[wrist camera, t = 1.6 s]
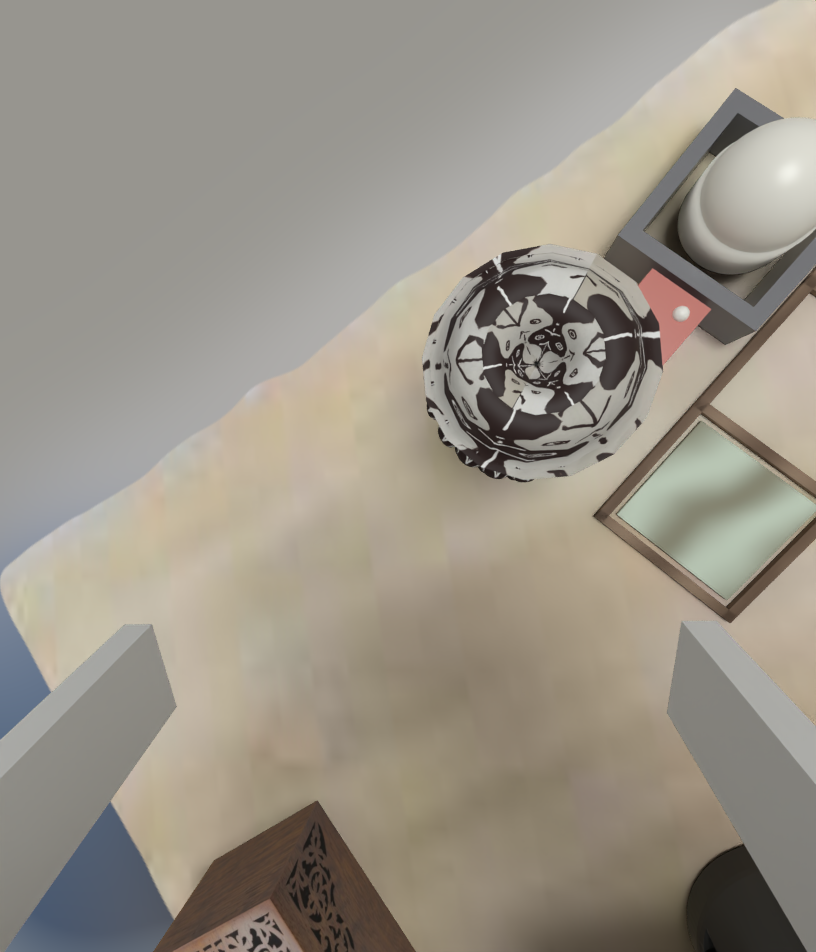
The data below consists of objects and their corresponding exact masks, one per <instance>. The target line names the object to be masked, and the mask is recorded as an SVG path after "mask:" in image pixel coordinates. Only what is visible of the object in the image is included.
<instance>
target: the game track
mask: <svg viewBox="0 0 816 952" xmlns="http://www.w3.org/2000/svg"><path fill="white" fill-rule="evenodd" d="M809 293H811V294H813V295H814V296H816V267H815V268H814V270H813V271H812V272H811V273H810V274H809V275H808V276H807V277H806V279H805V280H804V281H803V282H802V283H801V284H800V285H799V286H798V287H797V289H796V290H795V291H794V292H793V293H792V294H791V295H790V296H789V298H788V299H787V300H786V301H785V302H784V303H783V304H782V305H781V306H780V308H779V309H778V310H777V311H776V312H775V313H774V314H773V315H772V317H771V318H770V319H769V320H768V321H767V322H766V323H765V324H764V326H763V327H762V328H761V329H760V330H759V331H758V332H757V333H756V334H755V336H754V337H753V338H752V339H751V340H750V341H749V342H748V343H747V345H746V346H745V347H744V348H743V349H742V350H741V351H740V352H739V353H738V355H737V356H736V357H735V358H734V359H733V360H732V361H731V362H730V364H729V365H728V366H727V367H726V368H725V369H724V370H723V371H722V372H721V374H720V375H719V376H718V377H717V378H716V379H715V380H714V381H713V383H712V384H711V385H710V386H709V387H708V388H707V389H706V390H705V391H704V393H703V394H702V395H701V396H700V397H699V398H698V399H697V400H696V402H695V403H694V404H693V405H692V406H691V407H690V408H689V409H688V411H687V412H686V413H685V414H684V415H683V416H682V417H681V418H680V419H679V421H678V422H677V423H676V424H675V425H674V426H673V427H672V428H671V430H670V431H669V432H668V433H667V434H666V435H665V436H664V437H663V438H662V440H661V441H660V442H659V443H658V444H657V445H656V446H655V447H654V449H653V450H652V451H651V452H650V453H649V454H648V455H647V456H646V457H645V459H644V460H643V461H642V462H641V463H640V464H639V465H638V466H637V468H636V469H635V470H634V471H633V472H632V473H631V474H630V475H629V476H628V478H627V479H626V480H625V481H624V482H623V483H622V484H621V485H620V487H619V488H618V489H617V490H616V491H615V492H614V493H613V494H612V496H611V497H610V498H609V499H608V500H607V501H606V502H605V503H604V504H603V506H602V507H601V508H600V509H599V510H598V511H597V512H596V513H595V515H594V517H595V518H597V519H598V520H599V521H600V522H602V523H603V524H604V525H605V526H607V527H608V528H609V529H611V530H612V531H613V532H614V533H616V534H617V535H618V536H619V537H621V538H622V539H623V540H625V541H626V542H627V543H628V544H630V545H631V546H632V547H633V548H635V549H636V550H637V551H639V552H640V553H641V554H642V555H644V556H645V557H646V558H647V559H649V560H650V561H651V562H653V563H654V564H655V565H656V566H658V567H659V568H660V569H661V570H663V571H664V572H665V573H667V574H668V575H669V576H670V577H672V578H673V579H674V580H675V581H677V582H678V583H679V584H681V585H682V586H683V587H684V588H686V589H687V590H688V591H689V592H691V593H692V594H693V595H694V596H696V597H697V598H698V599H700V600H701V601H702V602H703V603H705V604H706V605H707V606H708V607H710V608H711V609H712V610H714V611H715V612H716V613H717V614H719V615H720V616H721V617H722V618H724V619H725V620H726V621H728V622H729V623H731V622H732V621H733V620H734V619H735V618H736V617H737V616H738V615H739V614H740V613H741V612H742V611H743V610H744V609H745V608H746V607H747V606H748V605H749V604H750V603H751V602H752V601H753V600H754V599H755V598H756V597H757V596H758V595H759V594H760V593H761V592H762V591H763V590H764V589H765V588H766V587H767V586H768V585H769V584H770V583H771V582H772V581H773V580H774V579H775V578H777V577H778V576H779V575H780V574H781V573H782V572H783V571H784V570H785V569H786V568H787V567H788V566H789V565H790V564H791V563H792V562H793V561H794V560H795V559H796V558H797V557H798V556H799V555H800V554H801V553H802V552H803V551H804V550H805V549H806V548H807V547H808V546H809V545H810V544H811V543H812V542H813V541H814V540H815V539H816V518H815V519H814V520H813V521H812V522H811V523H810V524H809V525H808V526H807V527H806V528H805V529H804V530H803V531H802V532H801V533H800V534H799V535H798V536H797V537H796V538H795V539H794V540H793V541H792V542H791V543H790V544H789V545H788V546H787V547H786V548H785V549H784V550H783V551H782V552H781V553H780V554H779V555H778V556H777V557H776V558H775V559H774V560H773V561H772V562H771V563H770V564H769V565H768V566H767V567H766V568H765V569H764V570H763V571H762V572H761V573H760V574H759V575H758V576H757V577H756V578H755V579H754V580H753V581H752V582H751V583H750V584H749V585H748V586H747V587H746V588H745V589H744V590H743V591H742V592H741V593H740V594H739V595H738V596H737V597H736V598H735V599H734V600H733V601H732V602H731V603H730V604H729V605H728V606H727V607H725V606H724V605H722V604H721V603H720V602H719V601H717V600H716V599H715V598H713V597H712V596H711V595H710V594H708V593H707V592H706V591H705V590H703V589H702V588H701V587H699V586H698V585H697V584H696V583H694V582H693V581H692V580H690V579H689V578H688V577H687V576H685V575H684V574H683V573H682V572H680V571H679V570H678V569H676V568H675V567H674V566H673V565H671V564H670V563H669V562H667V561H666V560H665V559H664V558H662V557H661V556H660V555H659V554H657V553H656V552H655V551H653V550H652V549H651V548H650V547H648V546H647V545H646V544H644V543H643V542H642V541H641V540H639V539H638V538H637V537H636V536H634V535H633V534H632V533H630V532H629V531H628V530H627V529H625V528H624V527H623V526H621V525H620V524H619V523H618V522H616V521H615V520H614V519H613V518H611V517H610V516H609V515H610V514H611V513H612V512H613V510H614V509H615V508H616V507H617V506H618V505H619V504H620V503H621V502H622V500H623V499H624V498H625V497H626V496H627V495H628V494H629V493H630V492H631V490H632V489H633V488H634V487H635V486H636V485H637V484H638V483H639V482H640V480H641V479H642V478H643V477H644V476H645V475H646V474H647V473H648V472H649V470H650V469H651V468H652V467H653V466H654V465H655V464H656V463H657V462H658V460H659V459H660V458H661V457H662V456H663V455H664V454H665V453H666V452H667V450H668V449H669V448H670V447H671V446H672V445H673V444H674V443H675V442H676V441H677V439H678V438H679V437H680V436H681V435H682V434H683V433H684V432H685V431H686V429H687V428H688V427H689V426H690V425H691V424H692V423H693V422H694V421H695V419H696V418H697V417H698V416H699V415H700V414H702V415H703V416H705V417H706V418H707V419H709V420H710V421H711V422H713V423H714V424H715V425H717V426H718V427H720V428H721V429H722V430H724V431H725V432H726V433H728V434H729V435H731V436H732V437H733V438H735V439H736V440H737V441H739V442H740V443H741V444H743V445H744V446H746V447H747V448H748V449H750V450H751V451H752V452H754V453H755V454H757V455H758V456H759V457H761V458H762V459H763V460H765V461H766V462H767V463H769V464H770V465H772V466H773V467H774V468H776V469H777V470H778V471H780V472H781V473H782V474H784V475H785V476H787V477H788V478H789V479H791V480H792V481H793V482H795V483H796V484H798V485H799V486H800V487H802V488H803V489H804V490H806V491H807V492H808V493H810V494H811V495H813V496H814V497H815V498H816V481H814V480H813V479H812V478H810V477H809V476H808V475H806V474H805V473H803V472H802V471H801V470H799V469H798V468H797V467H795V466H794V465H792V464H791V463H790V462H788V461H787V460H786V459H784V458H783V457H781V456H780V455H779V454H777V453H776V452H775V451H773V450H772V449H770V448H769V447H768V446H766V445H765V444H764V443H762V442H761V441H759V440H758V439H757V438H755V437H754V436H753V435H751V434H750V433H748V432H747V431H746V430H744V429H743V428H742V427H740V426H739V425H737V424H736V423H735V422H733V421H732V420H731V419H729V418H728V417H726V416H725V415H724V414H722V413H721V412H720V411H718V410H717V409H715V408H714V407H713V406H711V405H710V403H711V402H712V401H713V399H714V398H715V397H716V396H717V395H718V394H719V393H720V392H721V391H722V389H723V388H724V387H725V386H726V385H727V384H728V383H729V382H730V381H731V379H732V378H733V377H734V376H735V375H736V374H737V373H738V372H739V371H740V369H741V368H742V367H743V366H744V365H745V364H746V363H747V362H748V361H749V360H750V358H751V357H752V356H753V355H754V354H755V353H756V352H757V351H758V350H759V348H760V347H761V346H762V345H763V344H764V343H765V342H766V341H767V340H768V338H769V337H770V336H771V335H772V334H773V333H774V332H775V331H776V330H777V328H778V327H779V326H780V325H781V324H782V323H783V322H784V321H785V320H786V318H787V317H788V316H789V315H790V314H791V313H792V312H793V311H794V310H795V308H796V307H797V306H798V305H799V304H800V303H801V302H802V301H803V300H804V298H805V297H806V296H807V295H808V294H809ZM815 512H816V504H814V503H813V502H812V501H810V500H809V499H808V498H806V497H805V496H803V495H802V494H801V493H799V492H798V491H797V490H795V489H794V488H793V487H791V486H790V485H788V484H787V483H786V482H784V481H783V480H782V479H780V478H779V477H778V476H776V475H775V474H773V473H772V472H771V471H769V470H768V469H767V468H765V467H764V466H763V465H761V464H760V463H758V462H757V461H756V460H754V459H753V458H752V457H750V456H749V455H748V454H746V453H745V452H743V451H742V450H741V449H739V448H738V447H737V446H735V445H734V444H732V443H731V442H730V441H728V440H727V439H726V438H724V437H723V436H722V435H720V434H719V433H717V432H716V431H715V430H713V429H712V428H711V427H709V426H708V425H707V424H705V423H704V422H702V421H700V422H699V423H698V424H697V425H696V426H695V427H694V428H693V429H692V431H691V432H690V433H689V434H688V435H687V436H686V437H685V438H684V439H683V441H682V442H681V443H680V444H679V445H678V446H677V447H676V448H675V449H674V450H673V452H672V453H671V454H670V455H669V456H668V457H667V458H666V459H665V460H664V462H663V463H662V464H661V465H660V466H659V467H658V468H657V469H656V470H655V471H654V473H653V474H652V475H651V476H650V477H649V478H648V479H647V480H646V481H645V483H644V484H643V485H642V486H641V487H640V488H639V489H638V490H637V491H636V493H635V494H634V495H633V496H632V497H631V498H630V499H629V500H628V501H627V502H626V504H625V505H624V506H623V507H622V508H621V509H620V510H619V511H618V512H617V515H618V516H619V517H620V518H622V519H623V520H624V521H626V522H627V523H628V524H629V525H631V526H632V527H633V528H634V529H636V530H637V531H638V532H640V533H641V534H642V535H643V536H645V537H646V538H647V539H649V540H650V541H651V542H652V543H654V544H655V545H656V546H658V547H659V548H660V549H661V550H663V551H664V552H665V553H667V554H668V555H669V556H670V557H672V558H673V559H674V560H675V561H677V562H678V563H679V564H681V565H682V566H683V567H684V568H686V569H687V570H688V571H690V572H691V573H692V574H693V575H695V576H696V577H697V578H699V579H700V580H701V581H702V582H704V583H705V584H706V585H708V586H709V587H710V588H711V589H713V590H714V591H715V592H716V593H718V594H719V595H720V596H722V597H723V598H724V599H726V600H728V599H729V598H730V597H731V596H732V595H733V594H734V593H735V592H736V591H737V590H738V589H739V588H740V587H741V586H742V585H743V584H744V583H745V582H746V581H747V580H748V579H749V578H750V577H751V576H752V575H753V574H754V573H755V572H756V571H757V570H758V569H759V568H760V567H761V566H762V565H763V564H764V563H765V562H766V561H767V560H768V559H769V558H770V557H771V556H772V555H773V554H774V553H775V552H776V551H777V550H778V549H779V548H780V547H781V546H782V545H783V544H784V543H785V542H786V541H787V540H788V539H789V538H790V537H791V536H792V535H793V534H794V533H795V532H796V531H797V530H798V529H799V528H800V527H801V526H802V525H803V524H804V523H805V522H806V521H807V520H808V519H809V518H810V517H811V516H812V515H813V514H814V513H815Z"/></svg>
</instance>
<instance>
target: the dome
mask: <svg viewBox="0 0 816 952" xmlns="http://www.w3.org/2000/svg"><path fill="white" fill-rule="evenodd" d="M815 229H816V120H815V119H811V118H804V117H795V118H786V119H780V120H776V121H773V122H770V123H767V124H765V125H762V126H760V127H758V128H756V129H754V130H752V131H751V132H749V133H747V134H745V135H744V136H743V137H741V138H740V139H738V140H737V141H735V142H734V143H732V144H731V145H729V146H728V147H726V148H725V149H724V150H723V151H722V152H720V153H719V154H718V155H717V156H716V157H715V159H714V160H713V161H712V162H711V163H710V165H709V166H708V167H707V169H706V170H705V171H704V172H703V174H702V175H701V176H700V178H699V179H698V180H697V182H696V183H695V184H694V185H693V187H692V188H691V189H690V191H689V192H688V194H687V195H686V197H685V199H684V201H683V203H682V206H681V208H680V212H679V217H678V233H679V238H680V241H681V244H682V246H683V248H684V250H685V251H686V253H687V254H688V255H689V257H690V258H691V259H692V260H693V261H695V262H696V263H697V264H698V265H700V266H702V267H703V268H705V269H707V270H710V271H713V272H716V273H721V274H742V273H746V272H751V271H754V270H756V269H759V268H761V267H763V266H765V265H767V264H768V263H770V262H772V261H773V260H775V259H776V258H778V257H779V256H781V255H782V254H784V253H785V252H786V251H788V250H789V249H791V248H792V247H794V246H795V245H797V244H798V243H800V242H801V241H803V240H804V239H805V238H806V237H808V236H809V235H810V234H811V233H812V232H813V231H814V230H815Z"/></svg>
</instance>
